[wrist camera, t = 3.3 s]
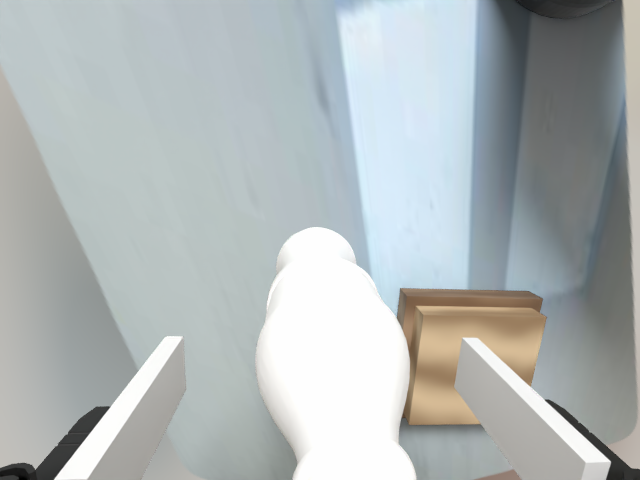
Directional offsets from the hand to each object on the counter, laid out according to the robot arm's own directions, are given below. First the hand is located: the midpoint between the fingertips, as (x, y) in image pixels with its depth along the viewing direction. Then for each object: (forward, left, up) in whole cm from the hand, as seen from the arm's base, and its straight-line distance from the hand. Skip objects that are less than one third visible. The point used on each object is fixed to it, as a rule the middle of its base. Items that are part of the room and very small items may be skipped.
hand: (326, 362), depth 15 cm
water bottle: (0, 0, -17) cm, 17 cm away
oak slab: (+10, +16, -15) cm, 24 cm away
